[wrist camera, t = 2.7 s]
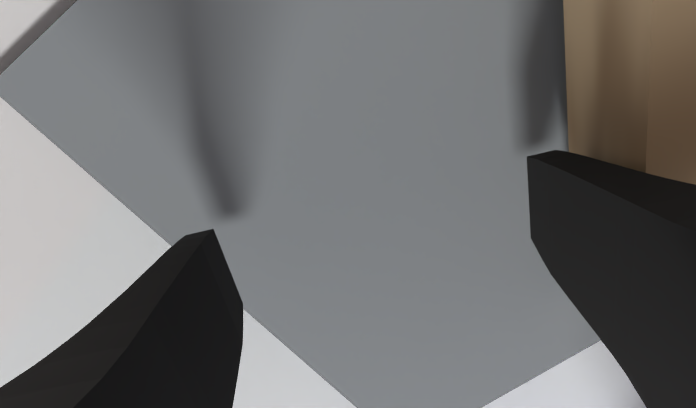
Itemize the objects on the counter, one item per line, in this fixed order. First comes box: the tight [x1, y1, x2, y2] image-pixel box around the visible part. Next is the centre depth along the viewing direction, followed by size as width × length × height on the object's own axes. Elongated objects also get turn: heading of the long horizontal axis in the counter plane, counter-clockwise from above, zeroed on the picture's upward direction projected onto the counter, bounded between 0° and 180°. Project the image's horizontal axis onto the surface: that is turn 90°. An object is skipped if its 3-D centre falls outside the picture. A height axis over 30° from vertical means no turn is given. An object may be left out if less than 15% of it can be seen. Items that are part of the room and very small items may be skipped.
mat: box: [0, 0, 601, 408], centre depth 12 cm, size 15×16×1 cm
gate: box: [563, 0, 696, 185], centre depth 10 cm, size 10×1×3 cm, turn 13°
